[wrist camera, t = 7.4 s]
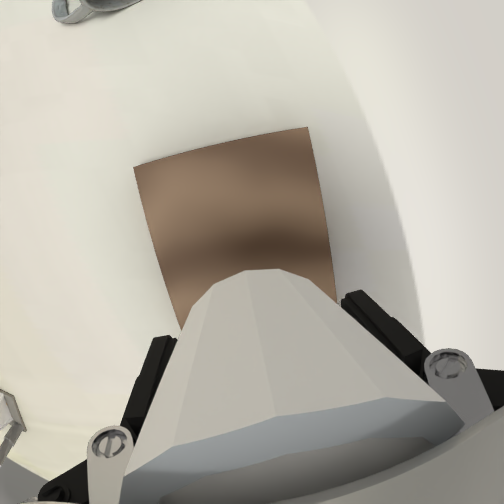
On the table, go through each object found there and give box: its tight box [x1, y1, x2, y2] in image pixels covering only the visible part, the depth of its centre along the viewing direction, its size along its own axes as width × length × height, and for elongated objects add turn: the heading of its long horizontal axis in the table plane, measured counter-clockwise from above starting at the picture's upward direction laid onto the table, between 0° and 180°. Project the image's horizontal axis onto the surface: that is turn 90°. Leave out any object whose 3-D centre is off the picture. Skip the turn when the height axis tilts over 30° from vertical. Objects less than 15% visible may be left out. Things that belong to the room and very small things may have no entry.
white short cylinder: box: [119, 269, 465, 504], centre depth 7 cm, size 7×7×7 cm
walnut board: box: [133, 127, 337, 331], centre depth 22 cm, size 16×12×2 cm
